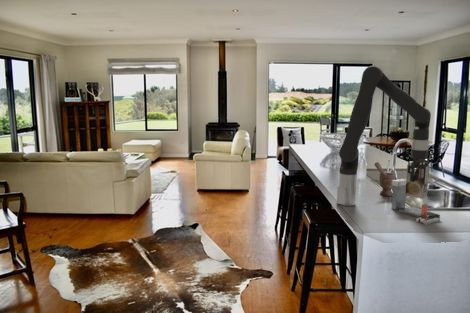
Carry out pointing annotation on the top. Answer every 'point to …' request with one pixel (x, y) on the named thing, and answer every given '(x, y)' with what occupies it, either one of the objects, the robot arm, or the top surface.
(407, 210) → the press
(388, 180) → the mortar and pestle
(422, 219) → the lever
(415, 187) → the coffee box
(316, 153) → the top surface
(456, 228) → the top surface
